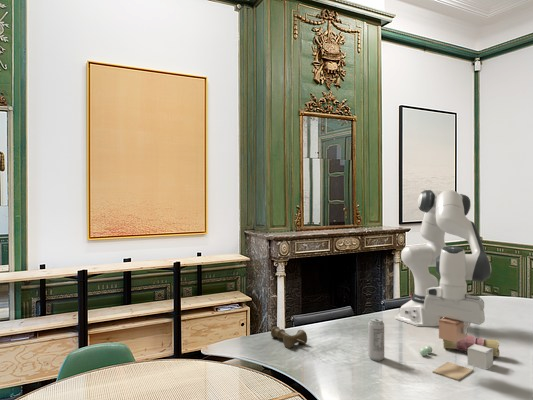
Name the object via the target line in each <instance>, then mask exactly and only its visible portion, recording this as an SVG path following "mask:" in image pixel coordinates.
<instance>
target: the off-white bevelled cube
mask: <svg viewBox="0 0 533 400" xmlns="http://www.w3.org/2000/svg"><path fill="white" fill-rule="evenodd" d="M467 365H469V366H473V367H476V368H479V369H482V370H488V369H490V368H491V367H492V366H493V365H494V356H493V349H492V348H488V347H484V346H481V345H477V344H474V345H472V346H470V347H469V348H468V354H467Z"/></svg>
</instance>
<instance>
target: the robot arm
mask: <svg viewBox="0 0 533 400" xmlns="http://www.w3.org/2000/svg"><path fill="white" fill-rule="evenodd" d="M417 206H418V208H419V209H418V210H420V211H421V212H423V213H424V214H423V218H422V221H421V224H420V230H419V232H420V236H421V237H422V238H423V239H424V240H426V244H412V245H408V246H405V247H403V249H402V250H401V253H400V259H401V261H402V263H403V264H404V265H405V266H406V267H408V269H409V270H410V271H411V273H412V275H413V281H414V282H413V283H414V292H413V293H411V294H410V295H409V297H410V298H411V299H410V300H408V301H407V302H406V303H404V304H402V305H401V306H400V309H399V313H397V314H395V316H394V319H395V320H398V321H401V322H404V323H406V324H407V323H408V324H409V325H413V326H417V327H439V320H440V319H442V318H444V317H446V318H450V319H455V320H459V321H464V325H465V327H464V328H461V333H462V334H467V335H468V329H469V327H470V326H471V324H474V325H478V326H479V325H482V324H483V323H485V321H486V317H485V301H484V300H483V299H482V298H481V297H480V296H478V295H477V296H476V295H471V294H468V293H467V290H468V284H467V281H473V282H477V283H478V282H479V283H483V282H485V281H487V280H488V279H489V278H491V274H492V266H491V262H490V260H489V257H488V255H487V253H486V250H485V248H484V244H483V242H482V239H481V236H480V233H479V230H478V229H477V225H476V224H475V223H474V221H471V220H470V219H468V217H467V215H468V214H469V212H470V209H471V206H472V205H471V199H470V197H469V196H468V195H466V194H463V193H459V192H457V191H455V190H451V189H450V190H449V189H447V190H444V191H443V190H432V189H424V190H423V191H421V192H420V194H419V195H418V198H417ZM446 234H449V235H453V236H456V237H459V238H461V239H464V240H465V241H467V243H468V244H469V247H470V250H471V253H466V252H465V249H464V248H463V247H460V246H456V245H448V246H447V244H446V242H445V235H446ZM430 267H435V273H436V274H437V275H438V276H439V277H440V279H438V278H437V277H436V276H435V275H434V274H432V273H430V271H429V268H430Z"/></svg>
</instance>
